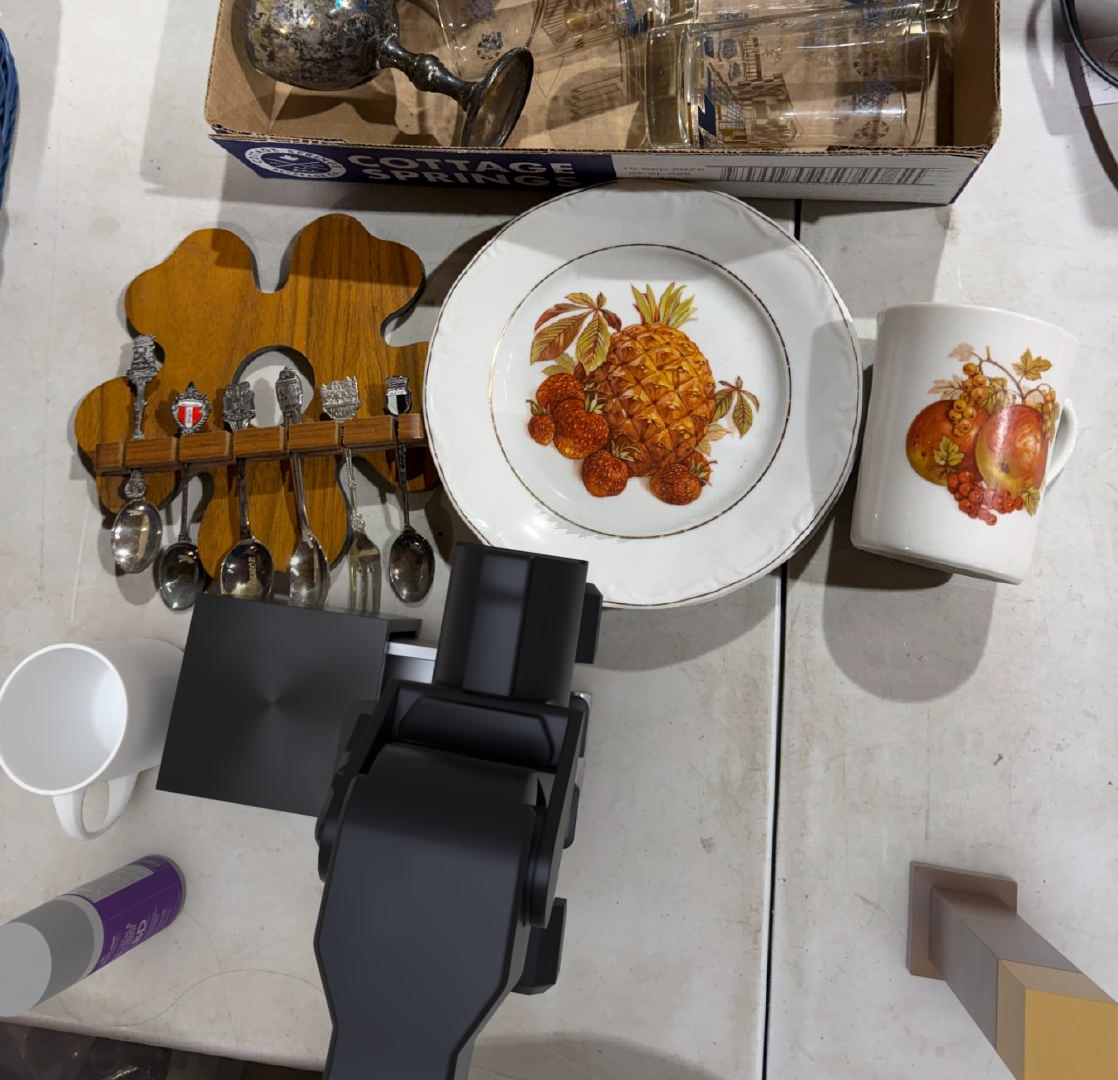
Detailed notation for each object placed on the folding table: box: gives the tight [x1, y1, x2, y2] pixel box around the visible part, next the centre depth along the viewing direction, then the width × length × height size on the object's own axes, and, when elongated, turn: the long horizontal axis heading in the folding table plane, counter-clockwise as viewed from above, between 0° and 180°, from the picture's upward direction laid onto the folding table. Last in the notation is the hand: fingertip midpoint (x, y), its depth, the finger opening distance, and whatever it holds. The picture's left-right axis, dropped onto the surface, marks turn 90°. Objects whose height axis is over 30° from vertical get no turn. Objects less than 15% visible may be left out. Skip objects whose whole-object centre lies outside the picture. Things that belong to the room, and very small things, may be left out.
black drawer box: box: [154, 592, 423, 818], centre depth 66 cm, size 13×12×9 cm
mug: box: [0, 638, 184, 842], centre depth 65 cm, size 9×12×11 cm
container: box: [0, 854, 187, 1018], centre depth 60 cm, size 5×5×15 cm
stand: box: [905, 861, 1085, 1052], centre depth 55 cm, size 6×6×14 cm
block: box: [995, 959, 1118, 1080], centre depth 46 cm, size 4×4×4 cm
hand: (540, 746), depth 58 cm, fingers closed
